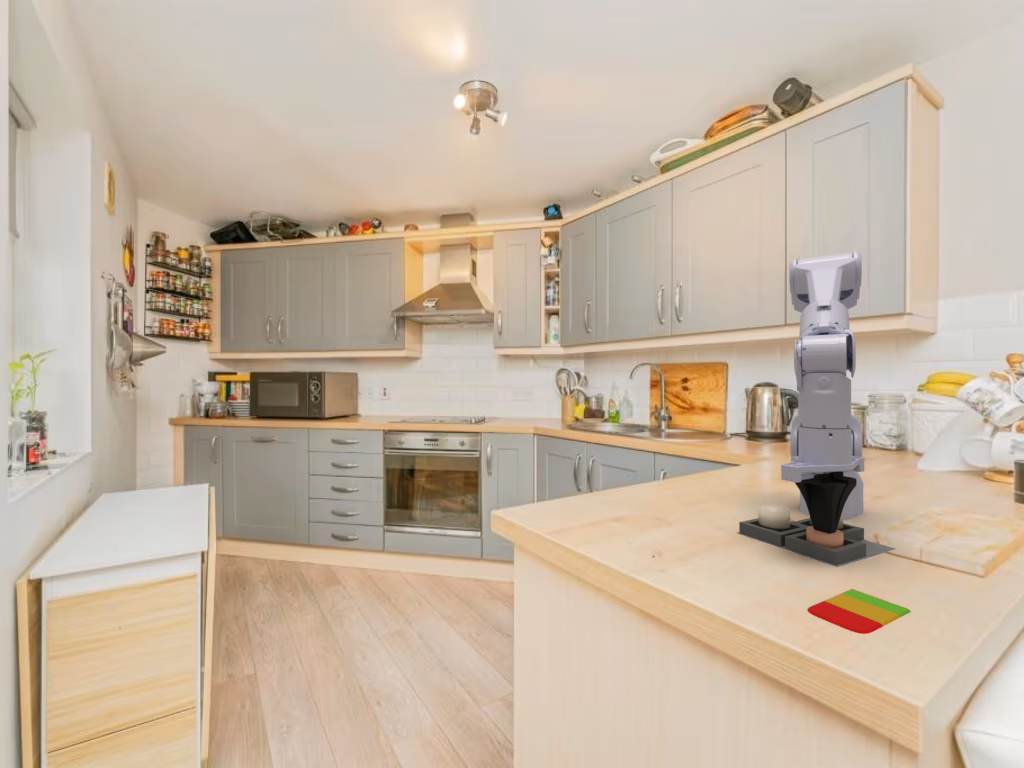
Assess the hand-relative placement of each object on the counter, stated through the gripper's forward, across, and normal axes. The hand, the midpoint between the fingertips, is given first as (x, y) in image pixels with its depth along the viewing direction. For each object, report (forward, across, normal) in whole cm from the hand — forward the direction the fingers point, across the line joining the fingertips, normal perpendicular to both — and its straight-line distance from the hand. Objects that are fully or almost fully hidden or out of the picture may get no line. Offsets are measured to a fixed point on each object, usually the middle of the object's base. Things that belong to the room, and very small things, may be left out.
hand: (824, 531), depth 61 cm
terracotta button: (+2, 0, 0) cm, 2 cm away
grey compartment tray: (+4, -3, -4) cm, 6 cm away
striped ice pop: (+5, +10, +10) cm, 15 cm away
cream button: (+1, 0, -7) cm, 7 cm away
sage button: (+1, -6, -3) cm, 7 cm away
